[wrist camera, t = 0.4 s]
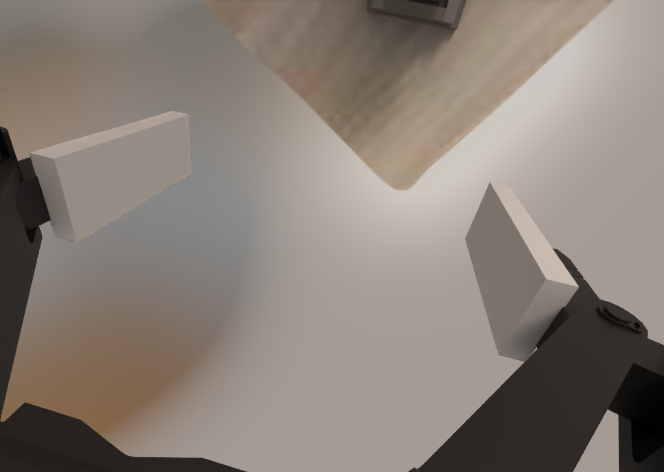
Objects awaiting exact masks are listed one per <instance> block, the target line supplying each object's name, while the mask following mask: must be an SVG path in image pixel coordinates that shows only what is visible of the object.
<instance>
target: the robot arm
mask: <svg viewBox="0 0 664 472" xmlns="http://www.w3.org/2000/svg"><path fill="white" fill-rule="evenodd" d="M29 154H30V158H26V159H23V160H20V161H17V158H16V155H15V152H14V149H13V145H12V143H11V139H10V136H9V133H8V130H7V129H6V128H3V127H0V419H1V414H2V409H3V405H4V400H5V396H6V392H7V388H8V383H9V379H10V375H11V370H12V366H13V362H14V357H15V353H16V348H17V344H18V340H19V336H20V331H21V327H22V323H23V318H24V314H25V310H26V305H27V301H28V297H29V292H30V288H31V284H32V279H33V275H34V271H35V266H36V262H37V258H38V253H39V249H40V245H41V240H42V234H41V230H40V228H39V225H41V224H43V223H45V222H47V221H49V220H50V222H51V225H52V229H53V232H54V235H55V237H57V238H61V239H64V240H68V241H72V242H76V243H78V242H79V241H81V240H83V239H84V238H86V237H87V236H89V235H91V234H93V233H94V232H96V231H97V230H99V229H101V228H102V227H104V226H106V225H107V224H109V223H110V222H112V221H114V220H115V219H117V218H119V217H121V216H122V215H124V214H126V213H127V212H129V211H131V210H132V209H134V208H136V207H137V206H139V205H141V204H142V203H144V202H145V201H147V200H149V199H150V198H152V197H154V196H155V195H157V194H159V193H160V192H162V191H164V190H165V189H167V188H169V187H170V186H172V185H174V184H175V183H177V182H178V181H180V180H182V179H184V178H185V177H187V176H188V175H190V174H192V163H191V145H190V125H189V114H184V113H180V112H175V111H171V112H167V113H164V114H160V115H157V116H153V117H150V118H147V119H143V120H140V121H136V122H133V123H129V124H126V125H122V126H119V127H116V128H112V129H109V130H105V131H102V132H99V133H95V134H91V135H88V136H85V137H81V138H78V139H74V140H71V141H68V142H64V143H61V144H57V145H54V146H50V147H47V148H43V149H40V150H36V151H33V152H30V153H29ZM465 240H466V243H467V247H468V250H469V254H470V257H471V261H472V264H473V268H474V271H475V275H476V278H477V282H478V285H479V289H480V292H481V296H482V299H483V302H484V306H485V309H486V313H487V317H488V320H489V324H490V327H491V331H492V334H493V338H494V341H495V344H496V348H497V351H498V355H501V356H505V357H509V358H512V359H516V360H520V361H524V363H523V364H522V365H521V366H520V367H519V368H518V370H516V371H515V372H514V373H513V374H512V375H511V376H510V377H509V379H507V380H506V381H505V382H504V383H503V384H502V385H501V387H500V388H499V389H498V390H497V391H496V392H495V393H494V394H493V395H492V396H491V397H490V398H489V399H488V400H487V401H486V402H485V403H484V404H483V405H482V406H481V407H480V408H479V409H478V410H477V411H476V412H475V413H474V414H473V415H472V416H471V417H470V418H469V419H468V420H467V421H466V422H465V423H464V424H463V425H462V426H461V427H460V428H459V429H458V430H457V431H456V432H455V433H454V434H453V435H452V436H451V437H450V438H449V439H448V440H447V441H446V442H445V443H444V444H443V445H442V446H441V447H440V448H439V449H438V450H437V451H436V452H435V453H434V454H433V455H432V456H431V457H430V458H429V459H428V460H427V461H426V462H425V463H424V464H423V465H422V466H421V467H420V468H418V469H416V468H413V469H411V470H410V471H409V472H573V471H574V469H575V467H576V465H577V463H578V462H579V460H580V458H581V456H582V454H583V453H584V451H585V449H586V447H587V445H588V443H589V442H590V440H591V438H592V436H593V434H594V433H595V431H596V429H597V427H598V425H599V424H600V422H601V420H602V418H603V416H604V415H605V413H606V411H607V409H608V410H610V411H612V412H614V413H616V414H618V416H619V472H664V345H662V344H660V343H657V342H655V341H653V340H650V339H648V338H647V337H648V331H647V329H646V328H645V326H644V325H643V323H642V322H641V321H639V320H638V319H637V318H636V317H635V316H634V315H632V314H631V313H629V312H628V311H626V310H624V309H623V308H621V307H619V306H617V305H615V304H612V303H610V302H607V301H603V300H600V299H599V298H598V297H597V295H596V294H595V293H594V291H593V290H592V288H591V287H590V286H589V284H588V283H587V282H586V281H585V280H584V279H583V276H582V275H581V274H580V272H579V271H577V268H576V267H575V265H574V264H573V263H572V261H571V260H570V259H569V258H568V257H566V256H565V255H564V254H562V253H561V252H560V251H559V250H557V249H553V248H552V247H551V246H550V245H549V243H548V242H547V240H546V239H545V238H544V236H543V234H542V233H541V232H540V231H539V229H538V227H537V226H536V224H535V223H534V222H533V220H532V219H531V217H530V216H529V214H528V213H527V211H526V210H525V209H524V207H523V206H522V205H521V203H520V202H519V200H518V199H517V197H516V196H515V194H514V193H513V192H512V190H511V189H510V187H509V186H505V185H501V184H496V183H492V182H490V183H489V185H488V188H487V190H486V192H485V195H484V197H483V199H482V202H481V204H480V206H479V208H478V211H477V213H476V215H475V218H474V220H473V222H472V224H471V227H470V229H469V231H468V233H467V236H466V238H465ZM536 347H537V350H536V351H535V352H534V353H533V351H534V350H535V349H536ZM532 353H533V354H532ZM531 354H532V355H531ZM0 472H246V471H242V470H239V469H236V468H233V467H230V466H227V465H223V464H220V463H217V462H214V461H211V460H207V459H204V458H171V457H170V458H168V457H167V458H165V457H131V456H128V455H125V454H124V453H122V452H121V451H120V450H118V449H117V448H116V447H114V446H113V445H112V444H111V443H109V442H108V441H107V440H105V439H104V438H103V437H102V436H101V435H99V434H98V433H97V432H95V431H94V430H93V429H92V428H90V427H89V426H88V425H87V424H85V423H84V422H83V421H81V420H80V419H76V418H73V417H70V416H67V415H64V414H60V413H57V412H54V411H51V410H48V409H44V408H41V407H38V406H35V405H31V404H28V403H24V404H23V405H22V406H21V407H19V408H18V409H17V410H16V411H15V412H14V413H13V414H12V415H11V416H10V417H9V418H8V419H7V420H6V421H5V422H0Z"/></svg>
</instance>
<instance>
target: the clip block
mask: <svg viewBox="0 0 664 472" xmlns="http://www.w3.org/2000/svg"><path fill="white" fill-rule="evenodd" d="M465 2H466V0H441V2H439V1H434V0H368V4H367V9H366V11H367V12H371V13H376V14H381V15H386V16H390V17H395V18H400V19H405V20H410V21H415V22H420V23H425V24H430V25H435V26H440V27H445V28H450V29H455V30H456V29H457V27H458V24H459V21H460V18H461V15H462V11H463V8H464V5H465Z"/></svg>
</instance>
